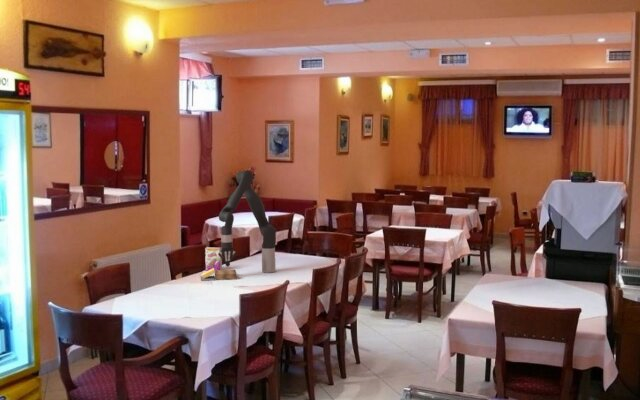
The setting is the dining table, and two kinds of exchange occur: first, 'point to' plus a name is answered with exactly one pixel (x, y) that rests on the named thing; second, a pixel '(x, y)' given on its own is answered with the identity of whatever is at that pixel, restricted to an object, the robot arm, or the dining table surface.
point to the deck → (225, 274)
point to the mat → (208, 278)
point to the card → (208, 273)
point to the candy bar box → (213, 258)
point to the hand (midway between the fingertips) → (227, 266)
